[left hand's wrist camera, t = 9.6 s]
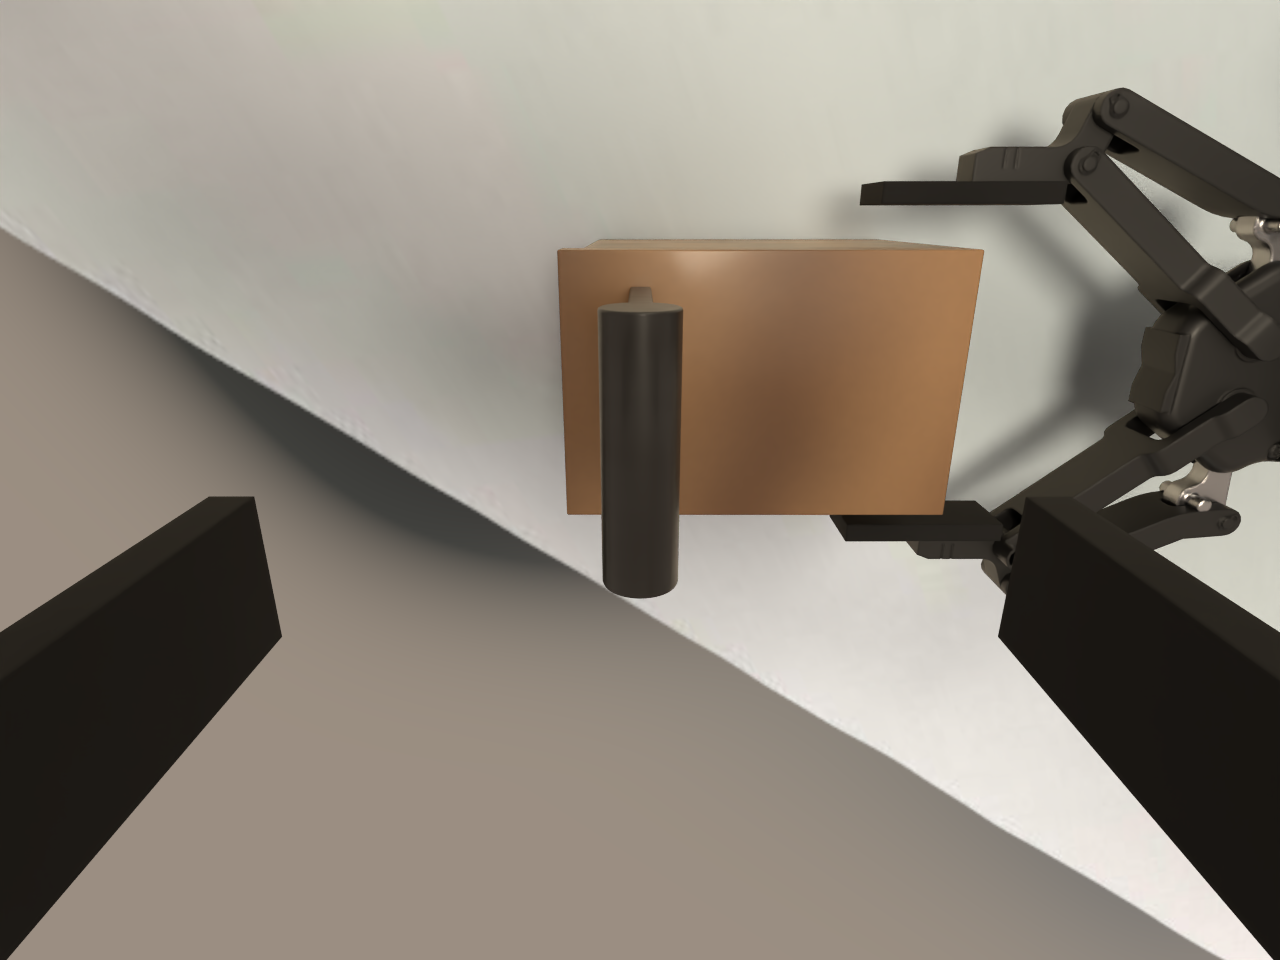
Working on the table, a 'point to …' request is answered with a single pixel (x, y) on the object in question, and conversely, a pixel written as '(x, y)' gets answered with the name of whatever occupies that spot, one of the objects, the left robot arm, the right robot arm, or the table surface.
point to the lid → (756, 388)
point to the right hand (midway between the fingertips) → (852, 369)
